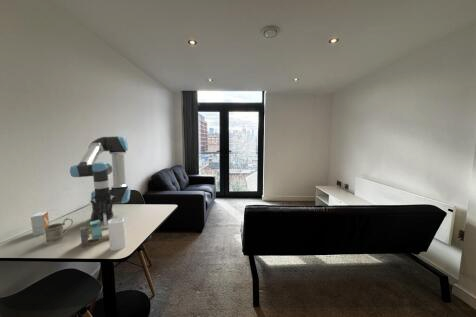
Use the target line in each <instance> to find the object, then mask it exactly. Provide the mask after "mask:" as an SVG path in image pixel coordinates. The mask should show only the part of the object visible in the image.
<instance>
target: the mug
mask: <svg viewBox="0 0 476 317" xmlns="http://www.w3.org/2000/svg"><path fill="white" fill-rule="evenodd" d="M69 220H70V221H71V224H70V225H69V226H68V227H66V228H65V229H64V226H65V225H66V223H65V222H66V221H69ZM73 222H74V221H73V219H71V218H69V217H66V218H64V220H63V222H59V223H54V224H49V226H47V227H45V232H46V233H45V238H46V241H45V242H44V245H45V246H53V245H57V244H60V243H62V242H64V241H66V239H67V237H66V236H65V232H66V231H67V229H69V228H70V227H72V225H73Z"/></svg>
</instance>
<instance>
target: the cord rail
mask: <svg viewBox="0 0 476 317" xmlns="http://www.w3.org/2000/svg"><path fill="white" fill-rule="evenodd" d="M101 229H102V232H104V231H108V225H106V226H104V227H101ZM79 230H80V231H79V232H80V239H81V240H80V241H81V248H87V247H90V246H93V245H96V244H100V243H104V242H106V241H109V233H107V234H105V235H103V234H102V237H101V238H98V239H94V240H92V238H91V230H90V227H88V228H87V226H82V227H80V228H79Z"/></svg>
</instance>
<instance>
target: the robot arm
mask: <svg viewBox="0 0 476 317" xmlns="http://www.w3.org/2000/svg"><path fill="white" fill-rule="evenodd" d="M127 151H129V146H128V142H127V138H125V136H101V137H99V138H96V139H95V140H93V141H91V143H90V144H89V145H88V149H87V151H86V152H85V153H84V155H83V157H82V159H81V160H80V162H78V164H77V165H72V166H70V168H69V175H70V176H71V177H72V178H83V177H84V178H85V177H87V178H88V177H93V178H92V179H93V187H94V190H93V191H92V192H91V193H90V200H89V201H90V203H91V208H92V212H91V215H90V222H91V221H96V220H100V222H103V225H104V226H108V221H107V220H111V219H113V218H114V212H113V205H115V204H125V203H128V202H129V201H130V197H131V188H130V187H129V186H128V185H127V184H126V169H125V155H126V154H127ZM103 152H109V155H111V163H108V162H105V161H102V162H101V161H100V162H99V161H98V162H97V159H98V158H99V156H100V155H101V154H103ZM110 174H112V186H111V187H110V185H109V183H110V182H109V175H110Z"/></svg>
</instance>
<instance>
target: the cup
mask: <svg viewBox="0 0 476 317" xmlns="http://www.w3.org/2000/svg"><path fill="white" fill-rule="evenodd" d="M107 226H108V230H107V231H108V234H109V240H108V241H109V249H110V251H119V250H122V249H124V248H126V246H127V235H126V224H125V218H124V217H113V218H110V219H108V221H107Z"/></svg>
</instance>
